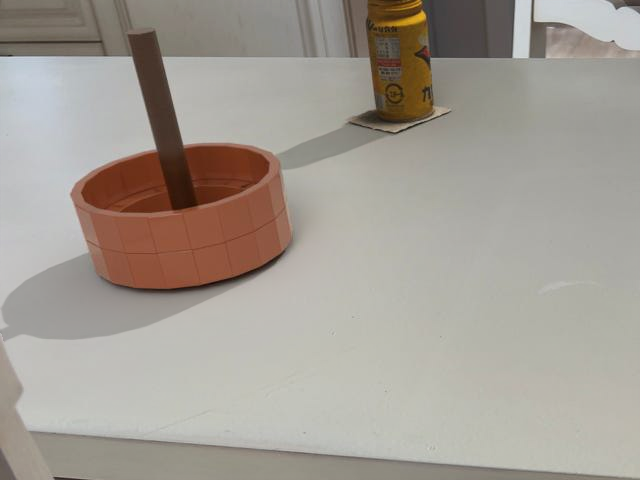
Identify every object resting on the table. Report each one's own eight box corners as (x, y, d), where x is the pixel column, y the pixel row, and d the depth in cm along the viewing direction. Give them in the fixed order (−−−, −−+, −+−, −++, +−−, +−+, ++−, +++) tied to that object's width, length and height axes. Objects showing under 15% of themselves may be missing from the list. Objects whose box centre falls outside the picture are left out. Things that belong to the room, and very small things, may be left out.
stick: (152, 257, 79) (90, 40, 69) (178, 232, 83) (123, 22, 73) (212, 259, 78) (158, 39, 68) (236, 233, 82) (188, 20, 72)
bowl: (58, 293, 76) (30, 215, 73) (148, 213, 88) (128, 142, 84) (252, 299, 74) (234, 218, 70) (319, 215, 85) (306, 142, 81)
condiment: (452, 111, 105) (442, -20, 97) (395, 134, 100) (379, -2, 93) (402, 101, 109) (388, -26, 101) (344, 123, 104) (326, -9, 97)
